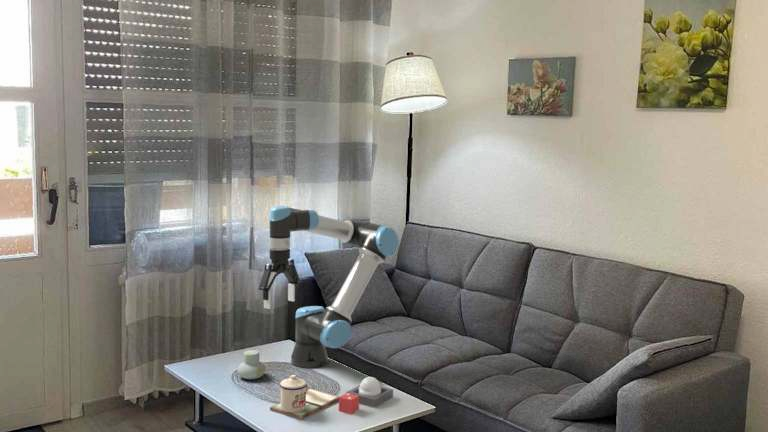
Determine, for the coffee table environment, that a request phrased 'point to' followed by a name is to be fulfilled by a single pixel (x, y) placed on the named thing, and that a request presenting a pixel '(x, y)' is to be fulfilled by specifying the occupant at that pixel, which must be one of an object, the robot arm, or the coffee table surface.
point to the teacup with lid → (293, 394)
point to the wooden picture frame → (310, 404)
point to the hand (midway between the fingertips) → (279, 304)
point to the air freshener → (251, 366)
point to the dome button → (370, 387)
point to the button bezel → (370, 401)
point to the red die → (349, 403)
